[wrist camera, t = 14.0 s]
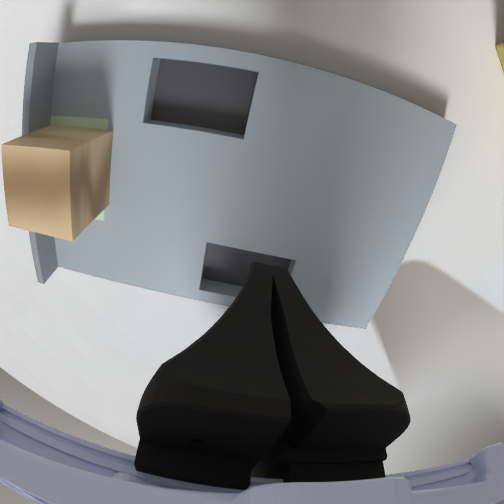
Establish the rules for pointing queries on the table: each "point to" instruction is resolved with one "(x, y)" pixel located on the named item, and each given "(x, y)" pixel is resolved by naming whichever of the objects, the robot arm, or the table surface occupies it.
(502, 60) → the cheese
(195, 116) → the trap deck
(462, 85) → the table surface
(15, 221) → the oak block
